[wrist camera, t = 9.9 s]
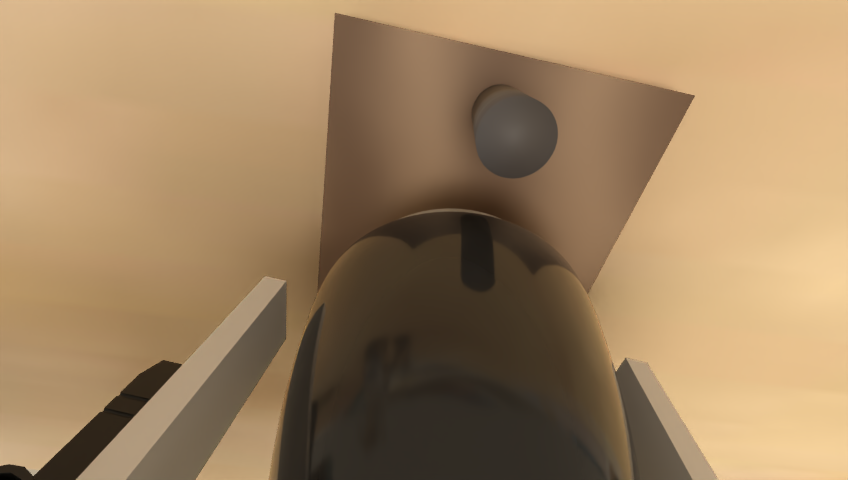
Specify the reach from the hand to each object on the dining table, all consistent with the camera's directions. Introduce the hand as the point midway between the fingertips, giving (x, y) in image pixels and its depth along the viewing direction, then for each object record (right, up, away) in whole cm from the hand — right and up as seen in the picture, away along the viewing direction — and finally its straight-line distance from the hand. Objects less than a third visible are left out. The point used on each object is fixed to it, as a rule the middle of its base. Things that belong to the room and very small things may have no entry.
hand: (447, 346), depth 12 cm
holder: (+1, +3, +6) cm, 6 cm away
